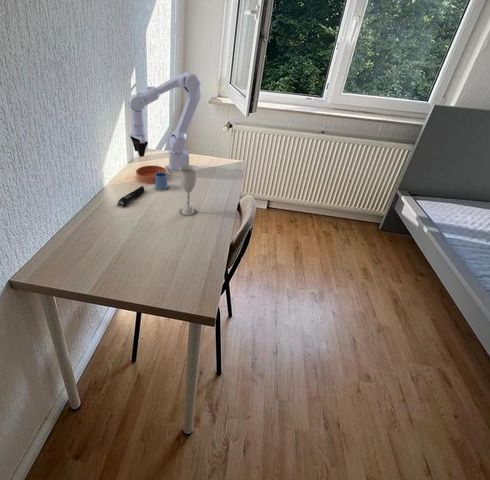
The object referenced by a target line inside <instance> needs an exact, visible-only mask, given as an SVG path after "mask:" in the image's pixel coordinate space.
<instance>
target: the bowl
mask: <svg viewBox="0 0 490 480" xmlns="http://www.w3.org/2000/svg"><path fill="white" fill-rule="evenodd" d="M158 172H164V173H167V169H166V168H165V167H163V166H159V165H144V166H140V167H138V168H136V170H135V179H136V180H137V181H138V182H140V183H144V184H155V174H156V173H158Z"/></svg>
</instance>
